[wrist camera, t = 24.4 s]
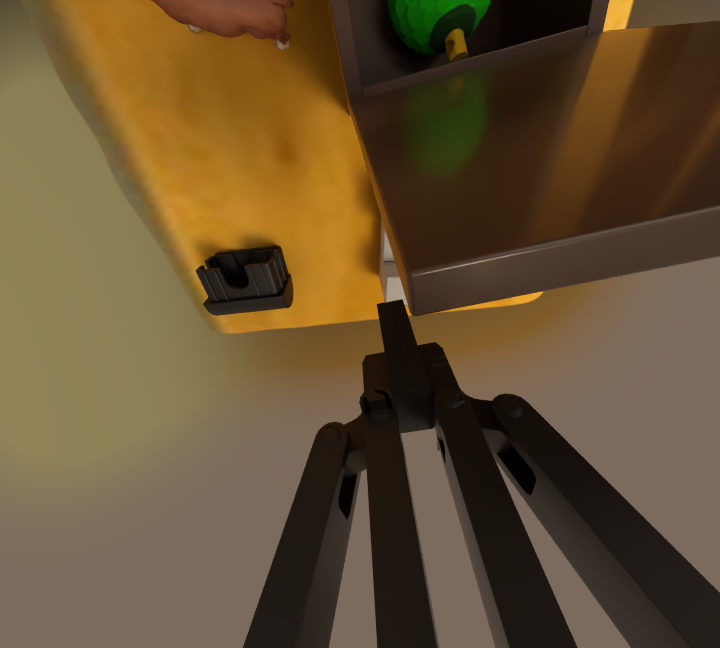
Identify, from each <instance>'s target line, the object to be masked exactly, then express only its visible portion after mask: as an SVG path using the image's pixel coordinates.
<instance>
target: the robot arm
mask: <svg viewBox="0 0 720 648" xmlns="http://www.w3.org/2000/svg"><path fill="white" fill-rule="evenodd" d="M377 308H378V314H379V320H380V326H381V332H382V338H383V344H384V350H385V352H382V353H376V354H371V355H366V356H365V358H364V361H363V363H362V366H363V382H364V393H363V394H362V396H361V397H360V402H359V403H360V406H361V409H362V413H361V415H360V416H358V417H357V418H356V419H355V420H353V421H351V422H349V423H347V424H345V425H343V424H342V423H338V422H331V423H328V424H326V425H324V426H323V427H322V428H321V429H320V430H319V431H318V433H317V435H316V437H315V440H314V443H313V446H312V448H311V451H310V454H309V457H308V460H307V463H306V466H305V469H304V472H303V475H302V477H301V481H300V484H299V486H298V489H297V492H296V495H295V498H294V501H293V504H292V507H291V509H290V512H289V515H288V518H287V521H286V524H285V527H284V530H283V533H282V536H281V539H280V542H279V544H278V547H277V550H276V553H275V556H274V559H273V562H272V565H271V568H270V571H269V574H268V576H267V579H266V582H265V585H264V588H263V591H262V594H261V597H260V600H259V603H258V605H257V608H256V611H255V614H254V617H253V620H252V623H251V626H250V629H249V632H248V635H247V637H246V640H245V643H244V646H243V648H328V647H329V643H330V637H331V632H332V627H333V621H334V616H335V610H336V605H337V600H338V594H339V589H340V583H341V578H342V572H343V567H344V562H345V557H346V551H347V546H348V541H349V535H350V530H351V524H352V519H353V514H354V508H355V503H356V498H357V493H358V487H359V482H360V476H361V472H362V471H363V470H365V469H367V480H368V481H367V482H368V498H369V514H370V531H371V547H372V564H373V581H374V598H375V615H376V632H377V648H439V644H438V638H437V632H436V627H435V621H434V616H433V610H432V604H431V599H430V593H429V587H428V582H427V576H426V571H425V565H424V560H423V554H422V548H421V543H420V537H419V532H418V526H417V520H416V515H415V509H414V503H413V498H412V492H411V486H410V481H409V475H408V470H407V464H406V459H405V453H404V447H403V442H402V438H401V433H406V432H413V431H419V430H426V429H432V428H434V427H435V430H436V433H437V445H438V450H440V453H441V456H442V460H443V463H444V467H445V470H446V474H447V477H448V481H449V485H450V488H451V491H452V495H453V499H454V502H455V506H456V509H457V513H458V517H459V520H460V523H461V527H462V531H463V534H464V537H465V541H466V545H467V548H468V552H469V555H470V559H471V563H472V566H473V570H474V573H475V577H476V580H477V584H478V587H479V590H480V594H481V598H482V601H483V605H484V608H485V612H486V616H487V619H488V623H489V626H490V630H491V633H492V637H493V640H494V644H495V648H577V646H576V643H575V641H574V639H573V637H572V634H571V632H570V630H569V628H568V625H567V623H566V621H565V618H564V616H563V614H562V612H561V609H560V607H559V605H558V603H557V600H556V598H555V596H554V593H553V591H552V589H551V586H550V584H549V582H548V580H547V577H546V575H545V573H544V570H543V568H542V566H541V564H540V561H539V559H538V557H537V555H536V553H535V550H534V548H533V546H532V543H531V541H530V539H529V536H528V534H527V532H526V529H525V527H524V525H523V523H522V520H521V518H520V516H519V514H518V512H517V509H516V507H515V505H514V502H513V500H512V498H511V495H510V493H509V491H508V488H507V486H506V484H505V482H504V479H503V477H502V475H501V473H500V470H499V468H498V466H497V464H496V461H497V463H498V464H499V465H500V467H501V468H502V470H503V471H504V472H505V474H506V475H507V477H508V478H509V479H510V481H511V482H512V483H513V485H514V486H515V487H516V489H517V490H518V492H519V493H520V494H521V496H522V497H523V498H524V500H525V501H526V503H527V504H528V506H529V507H530V508H531V510H532V511H533V513H534V514H535V515H536V517H537V518H538V519H539V521H540V522H541V524H542V525H543V526H544V528H545V529H546V530H547V532H548V533H549V535H550V536H551V537H552V539H553V540H554V541H555V543H556V544H557V546H558V547H559V548H560V550H561V551H562V553H563V554H564V555H565V557H566V558H567V560H568V561H569V562H570V564H571V565H572V567H573V568H574V569H575V571H576V572H577V573H578V575H579V576H580V577H581V579H582V580H583V582H584V583H585V585H586V586H587V587H588V589H589V590H590V591H591V593H592V594H593V596H594V597H595V598H596V600H597V601H598V603H599V604H600V605H601V607H602V608H603V609H604V611H605V612H606V614H607V615H608V616H609V618H610V619H611V620H612V622H613V623H614V625H615V626H616V627H617V629H618V630H619V632H620V633H621V634H622V636H623V637H624V639H625V640H626V641H627V643H628V644H629V645H630V647H631V648H720V593H719V592H718V591H717V590H716V589H715V588H714V587H713V586H712V585H711V584H710V583H709V582H708V581H707V580H706V579H705V578H704V577H703V576H702V575H701V574H700V573H699V572H698V571H697V570H696V569H695V568H694V567H693V566H692V565H691V564H690V563H689V562H688V561H687V560H686V559H685V558H684V557H683V556H682V555H681V554H680V553H679V552H678V551H677V550H676V549H675V548H674V547H673V546H672V545H671V544H670V543H669V542H668V541H667V540H666V539H665V538H664V537H663V536H662V535H661V534H660V533H659V532H658V531H657V530H656V529H655V528H654V527H653V526H652V525H651V524H650V523H649V522H648V521H647V520H646V519H645V518H644V517H643V516H642V515H641V514H640V513H639V512H638V511H637V510H635V508H634V507H633V506H632V505H631V504H630V503H629V502H628V501H627V500H626V499H625V498H624V497H622V495H621V494H620V493H619V492H617V490H616V489H614V487H612V486H611V485H610V484H609V483H608V482H607V481H606V480H605V479H604V478H603V477H602V476H601V475H600V474H599V473H598V472H597V471H596V470H595V469H594V468H593V467H592V466H591V465H590V464H589V463H588V462H587V461H586V460H585V459H584V458H583V457H582V456H581V455H580V454H579V453H578V452H577V451H576V450H575V449H574V448H573V447H572V446H571V445H570V444H569V443H568V442H567V441H566V440H565V439H564V438H563V437H562V436H561V435H560V434H559V433H558V432H557V431H556V430H555V429H554V428H553V427H552V426H551V425H550V424H549V423H548V422H547V421H546V420H545V419H544V418H543V417H542V416H541V415H540V414H539V413H538V412H537V411H536V410H535V409H534V408H533V407H532V406H531V405H530V404H529V403H528V402H527V401H525V400H524V399H523V398H521V397H519V396H516V395H514V394H501V395H498V396H497V397H495V398H494V399H493V401H488V400H479V399H474V398H472V397H469V396H468V395H466V394H464V392H463V391H461V389H460V387H459V386H458V383H457V381H456V378H455V376H454V374H453V371H452V369H451V367H450V364H449V362H448V360H447V358H446V356H445V353H444V350H443V348H442V347H440V346H439V345H438V344H437V343H436V342H434V343H428V344H423V345H417V343H416V340H415V337H414V333H413V330H412V327H411V324H410V321H409V318H408V314H407V311H406V308H405V305H404V302H403V299H401V300H395V301H390V302H385V303H380V304H377ZM495 460H496V461H495Z"/></svg>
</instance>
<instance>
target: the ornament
mask: <svg viewBox="0 0 720 648" xmlns="http://www.w3.org/2000/svg"><path fill="white" fill-rule="evenodd" d="M490 4H491V0H387V5H388V9H389V10H388V13H389V17H390V19H391V21H392V22H393V24H392V25H393V27H394V29H395V31H396V33H397V35H398V36H399V37H400V38H401V39H402V42H403V43H404V44H405V45H406V46H408V47H410V48H412V49H415V51H414V52H415V53H418V54H426V55H428V54H429V55H430V56H436V55H440V54H442V53H447V55H448V60H449V63H452V62H456V61H460V60H463V59H467V57H468V53H467V48H466V44H465V39H466V38H467V37H468V36H469V35H470V34H472V33H473V32H474V31H475V29H476V28H477V26H478V23H479V21H480V20H481V19H482V17H483V16H484V14H485V13H486V11H487V9H488V7H489V6H490Z"/></svg>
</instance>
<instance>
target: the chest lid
mask: <svg viewBox="0 0 720 648" xmlns="http://www.w3.org/2000/svg"><path fill="white" fill-rule="evenodd" d="M349 105H350V110H351V116H352V120H353V123H354V126H355V130H356V133H357V136H358V140H359V143H360V146H361V150H362V153H363V156H364V160H365V163H366V167H367V170H368V173H369V177H370V180H371V183H372V187H373V190H374V193H375V197H376V200H377V203H378V207H379V210H380V213H381V217H382V220H383V223H384V227H385V230H386V234H387V237H388V240H389V244H390V247H391V250H392V254H393V257H394V260H395V264H396V267H397V270H398V274H399V277H400V280H401V284H402V287H403V290H404V294H405V297H406V300H407V304H408V307H409V311H410V313H411V314H412V315H413V316H419V315H424V314H429V313H434V312H440V311H445V310H450V309H455V308H460V307H465V306H470V305H475V304H480V303H485V302H490V301H496V300H501V299H506V298H511V297H516V296H521V295H526V294H531V293H536V292H541V291H546V290H551V289H556V288H562V287H567V286H572V285H577V284H582V283H587V282H592V281H597V280H602V279H607V278H612V277H618V276H623V275H628V274H633V273H638V272H643V271H648V270H653V269H658V268H663V267H668V266H673V265H678V264H684V263H688V262H693V261H699V260H704V259H709V258H714V257H719V256H720V21H712V22H702V23H689V24H679V25H666V26H655V27H644V28H633V29H620V30H609V31H606V32H602V33H598V34H595V35H591V36H587V37H584V38H580V39H577V40H573V41H569V42H566V43H562V44H558V45H555V46H551V47H547V48H544V49H540V50H536V51H533V52H529V53H525V54H522V55H518V56H514V57H511V58H507V59H504V60H500V61H496V62H493V63H489V64H485V65H482V66H478V67H474V68H471V69H467V70H463V71H460V72H456V73H452V74H449V75H445V76H442V77H438V78H434V79H431V80H427V81H423V82H420V83H416V84H412V85H409V86H405V87H401V88H398V89H394V90H390V91H387V92H383V93H380V94H376V95H372V96H369V97H365V98H361V99H358V100H354V101H350V102H349Z"/></svg>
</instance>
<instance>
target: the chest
mask: <svg viewBox="0 0 720 648" xmlns="http://www.w3.org/2000/svg"><path fill="white" fill-rule="evenodd" d="M327 2H328V7H329V13H330V18H331V23H332V28H333V34H334V39H335V44H336V49H337V55H338V60H339V65H340V70H341V76H342V81H343V86H344V91H345V96H346V102H347V107H348V112H349V116H350V115H351V110H350V105H349V102H350V101H354V100H358V99H361V98H365V97H369V96H372V95H376V94H380V93H383V92H387V91H390V90H394V89H398V88H401V87H405V86H409V85H412V84H416V83H420V82H423V81H427V80H431V79H434V78H438V77H442V76H445V75H449V74H452V73H456V72H460V71H463V70H467V69H471V68H474V67H478V66H482V65H485V64H489V63H493V62H496V61H500V60H504V59H507V58H511V57H514V56H518V55H522V54H525V53H529V52H533V51H536V50H540V49H544V48H547V47H551V46H555V45H558V44H562V43H566V42H569V41H573V40H577V39H580V38H584V37H587V36H591V35H595V34H598V33H602V32H603V27H604V23H605V18H606V13H607V8H608V3H609V0H491V4H490V6H489V7H488V9H487V11H486V13H485V14H484V16H483V17H482V19H481V20H480V21H479V23H478V26H477V28H476V29H475V31H474V32H473V33H472V34H470V35H469V36H468V37H467V38H466V39H465V44H466V48H467V53H468V57H467V59H463V60H460V61H456V62H452V63H449V60H448V55H447V53H442V54H440V55H436V56H430V55H429V54H428V55H426V54H418V53H415V52H414V51H415V49H412V48H410V47H408V46H406V45H405V44H404V43H403V42H402V39H401V38H400V37H399V36H398V35H397V33H396V31H395V29H394V27H393V25H392V24H393V22H392V21H391V19H390V17H389V13H388V10H389V9H388V5H387V0H327Z"/></svg>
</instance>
